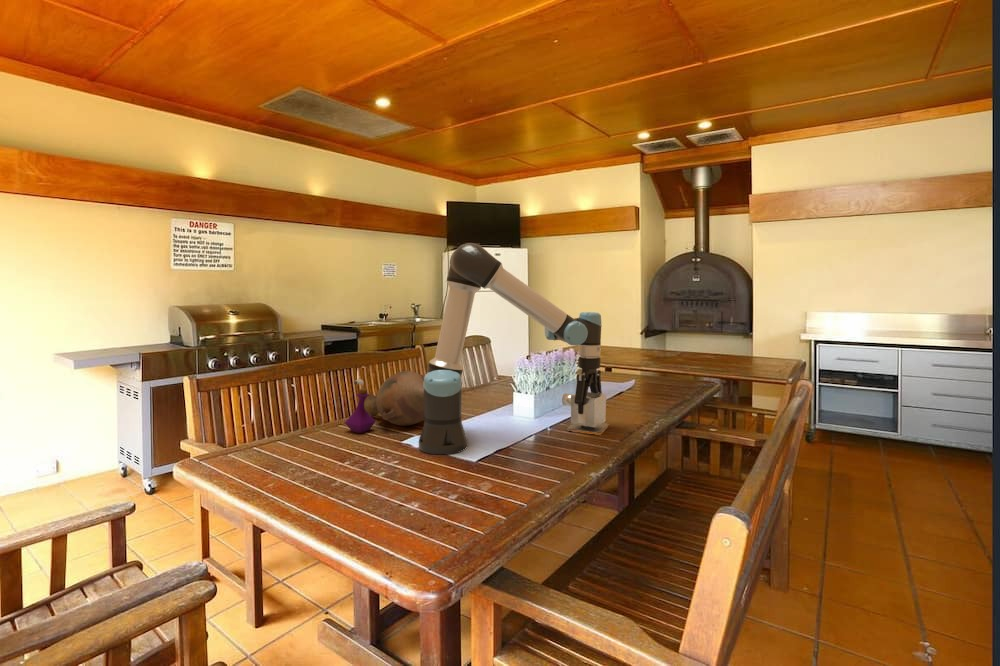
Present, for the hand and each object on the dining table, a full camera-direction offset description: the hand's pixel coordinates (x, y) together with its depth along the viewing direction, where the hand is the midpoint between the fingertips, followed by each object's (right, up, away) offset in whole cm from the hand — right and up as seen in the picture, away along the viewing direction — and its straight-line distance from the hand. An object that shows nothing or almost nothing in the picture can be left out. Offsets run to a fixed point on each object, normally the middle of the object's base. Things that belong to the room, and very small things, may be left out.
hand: (588, 419), depth 181 cm
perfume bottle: (-79, -4, -3) cm, 80 cm away
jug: (-70, -3, +9) cm, 71 cm away
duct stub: (0, -3, 0) cm, 3 cm away
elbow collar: (-2, -1, +2) cm, 3 cm away
